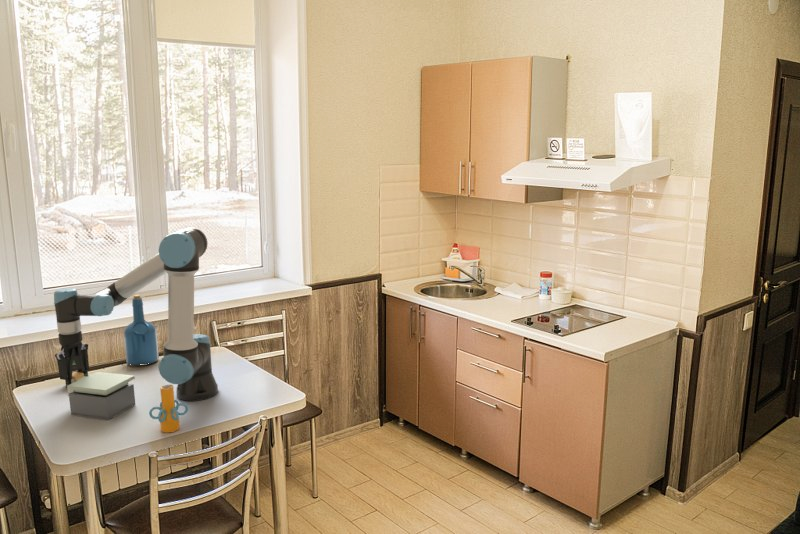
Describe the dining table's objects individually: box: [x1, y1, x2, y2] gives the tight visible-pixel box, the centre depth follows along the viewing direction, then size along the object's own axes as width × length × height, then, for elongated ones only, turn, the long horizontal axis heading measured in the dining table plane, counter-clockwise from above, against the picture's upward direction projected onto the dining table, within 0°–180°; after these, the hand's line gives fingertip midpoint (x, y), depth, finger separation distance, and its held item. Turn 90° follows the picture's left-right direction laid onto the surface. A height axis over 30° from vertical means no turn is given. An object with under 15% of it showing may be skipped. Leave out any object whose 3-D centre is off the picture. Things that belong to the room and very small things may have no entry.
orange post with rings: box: [149, 384, 189, 434], centre depth 222 cm, size 12×10×15 cm
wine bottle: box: [123, 294, 160, 366], centre depth 288 cm, size 14×13×30 cm
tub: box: [68, 383, 136, 421], centre depth 239 cm, size 16×14×8 cm
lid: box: [66, 371, 136, 395], centre depth 239 cm, size 22×15×4 cm
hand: (77, 393), depth 242 cm, fingers closed on lid, 4 cm apart
